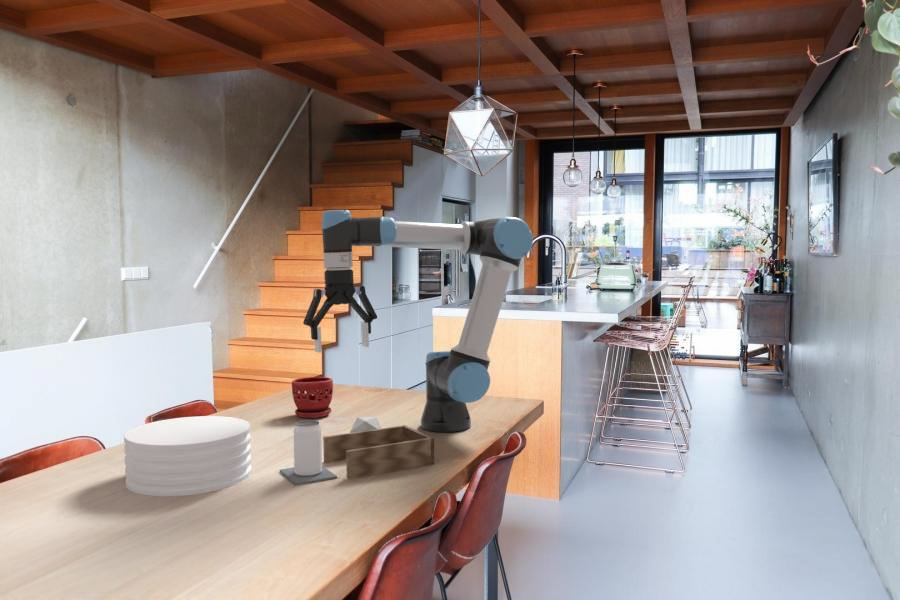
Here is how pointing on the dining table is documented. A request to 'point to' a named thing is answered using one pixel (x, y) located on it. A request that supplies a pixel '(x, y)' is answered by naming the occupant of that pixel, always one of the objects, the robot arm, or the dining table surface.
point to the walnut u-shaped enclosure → (379, 450)
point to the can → (307, 448)
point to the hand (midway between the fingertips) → (342, 349)
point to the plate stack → (187, 455)
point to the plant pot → (312, 396)
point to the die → (365, 424)
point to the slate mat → (300, 480)
